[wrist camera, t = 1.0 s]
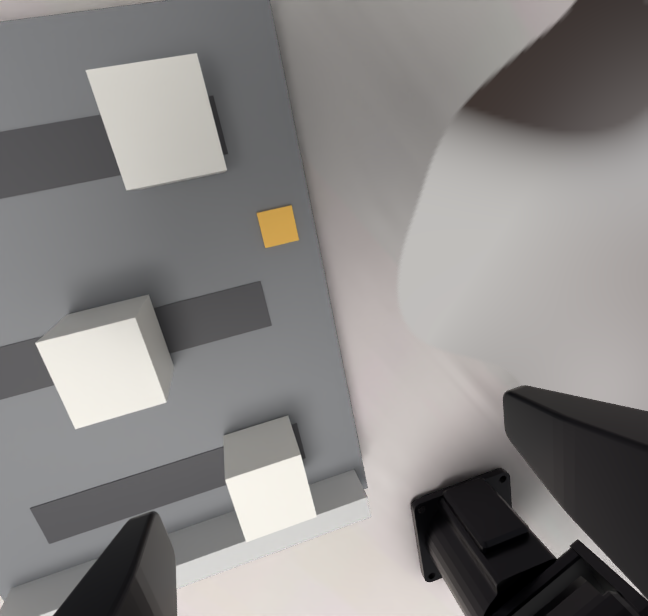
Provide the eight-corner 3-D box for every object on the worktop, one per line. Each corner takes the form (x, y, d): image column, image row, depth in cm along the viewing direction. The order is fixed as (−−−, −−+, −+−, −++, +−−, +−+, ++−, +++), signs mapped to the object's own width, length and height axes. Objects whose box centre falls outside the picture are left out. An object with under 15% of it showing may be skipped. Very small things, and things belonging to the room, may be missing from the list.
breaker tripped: (174, 366, 17) (166, 402, 14) (98, 388, 17) (75, 429, 14) (148, 294, 16) (135, 317, 13) (66, 314, 16) (35, 343, 13)
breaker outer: (224, 172, 16) (227, 170, 13) (142, 189, 15) (126, 190, 12) (199, 77, 15) (196, 52, 12) (110, 92, 14) (85, 70, 11)
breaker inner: (302, 471, 20) (316, 516, 17) (241, 491, 20) (246, 542, 17) (288, 415, 19) (300, 454, 16) (223, 435, 19) (224, 479, 16)
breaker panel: (355, 463, 24) (382, 516, 20) (30, 575, 21) (-10, 662, 17) (260, 9, 16) (274, -42, 13) (-260, 81, 13) (-443, 42, 10)
